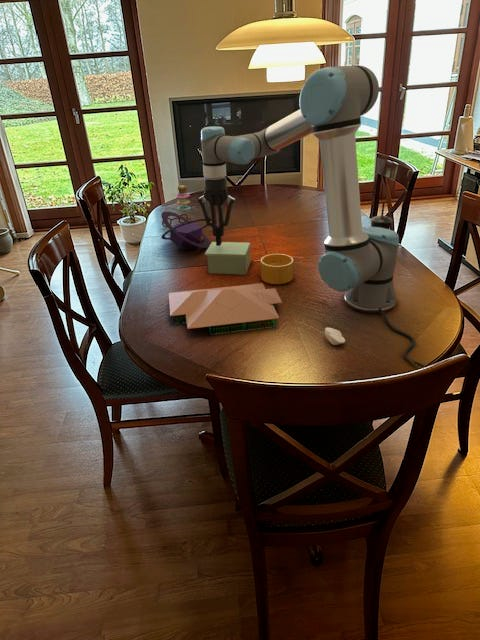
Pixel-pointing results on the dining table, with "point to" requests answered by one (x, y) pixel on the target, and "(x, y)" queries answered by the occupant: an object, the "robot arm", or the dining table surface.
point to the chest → (229, 264)
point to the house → (225, 306)
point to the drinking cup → (381, 220)
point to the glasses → (179, 220)
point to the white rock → (334, 336)
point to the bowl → (277, 268)
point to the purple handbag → (185, 226)
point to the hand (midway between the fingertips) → (219, 244)
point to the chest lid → (228, 249)
